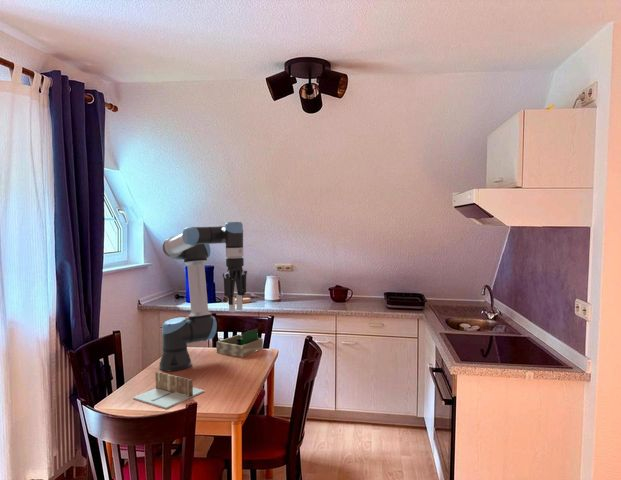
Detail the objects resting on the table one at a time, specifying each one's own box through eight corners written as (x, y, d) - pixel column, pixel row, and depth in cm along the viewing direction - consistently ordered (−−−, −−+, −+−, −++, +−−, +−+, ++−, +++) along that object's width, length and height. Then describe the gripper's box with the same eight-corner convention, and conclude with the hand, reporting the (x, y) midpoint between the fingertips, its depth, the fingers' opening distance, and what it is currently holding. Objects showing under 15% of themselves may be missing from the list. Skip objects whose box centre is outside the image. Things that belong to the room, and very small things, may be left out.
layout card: (132, 398, 179) (132, 397, 179) (171, 383, 196) (171, 381, 196) (166, 409, 169) (166, 407, 169) (204, 391, 186) (204, 390, 186)
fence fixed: (154, 389, 189) (154, 371, 188) (158, 388, 190) (158, 370, 190) (172, 394, 183) (172, 376, 182) (176, 393, 184) (176, 374, 184)
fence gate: (173, 392, 183) (173, 376, 182) (177, 391, 184) (176, 375, 184) (190, 397, 177) (190, 380, 177) (193, 395, 179) (193, 379, 178)
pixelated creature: (242, 346, 253) (242, 326, 253) (258, 350, 246) (257, 328, 246) (227, 351, 244) (226, 330, 243) (243, 355, 237) (242, 333, 236)
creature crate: (216, 352, 241) (216, 341, 241) (238, 344, 257) (238, 334, 256) (241, 357, 232) (241, 346, 232) (262, 349, 247) (262, 338, 247)
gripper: (227, 259, 182) (228, 315, 182) (254, 256, 196) (255, 308, 197) (214, 258, 185) (215, 313, 186) (241, 255, 200) (242, 306, 201)
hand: (235, 310), depth 192 cm, fingers open, 4 cm apart
